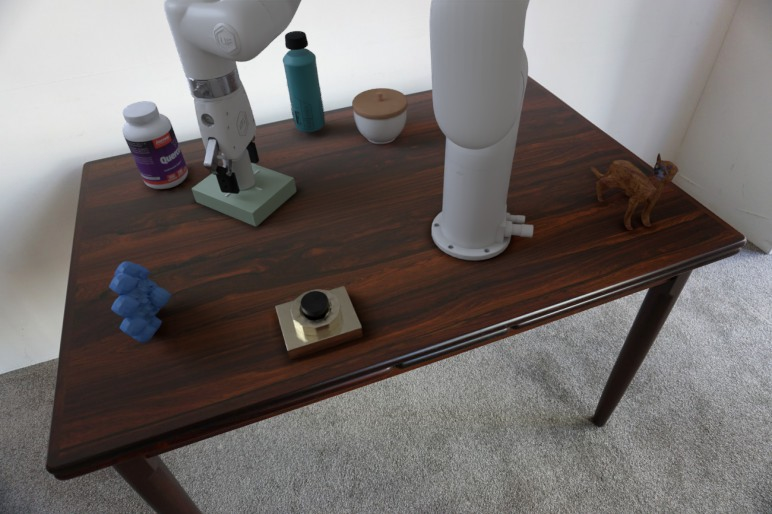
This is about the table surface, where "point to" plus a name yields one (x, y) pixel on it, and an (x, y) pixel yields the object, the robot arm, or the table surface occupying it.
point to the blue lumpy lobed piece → (137, 301)
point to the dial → (243, 170)
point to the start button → (315, 305)
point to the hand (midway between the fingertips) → (241, 176)
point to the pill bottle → (153, 145)
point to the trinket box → (380, 114)
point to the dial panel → (247, 195)
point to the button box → (318, 324)
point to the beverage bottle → (303, 83)
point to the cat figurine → (636, 185)
